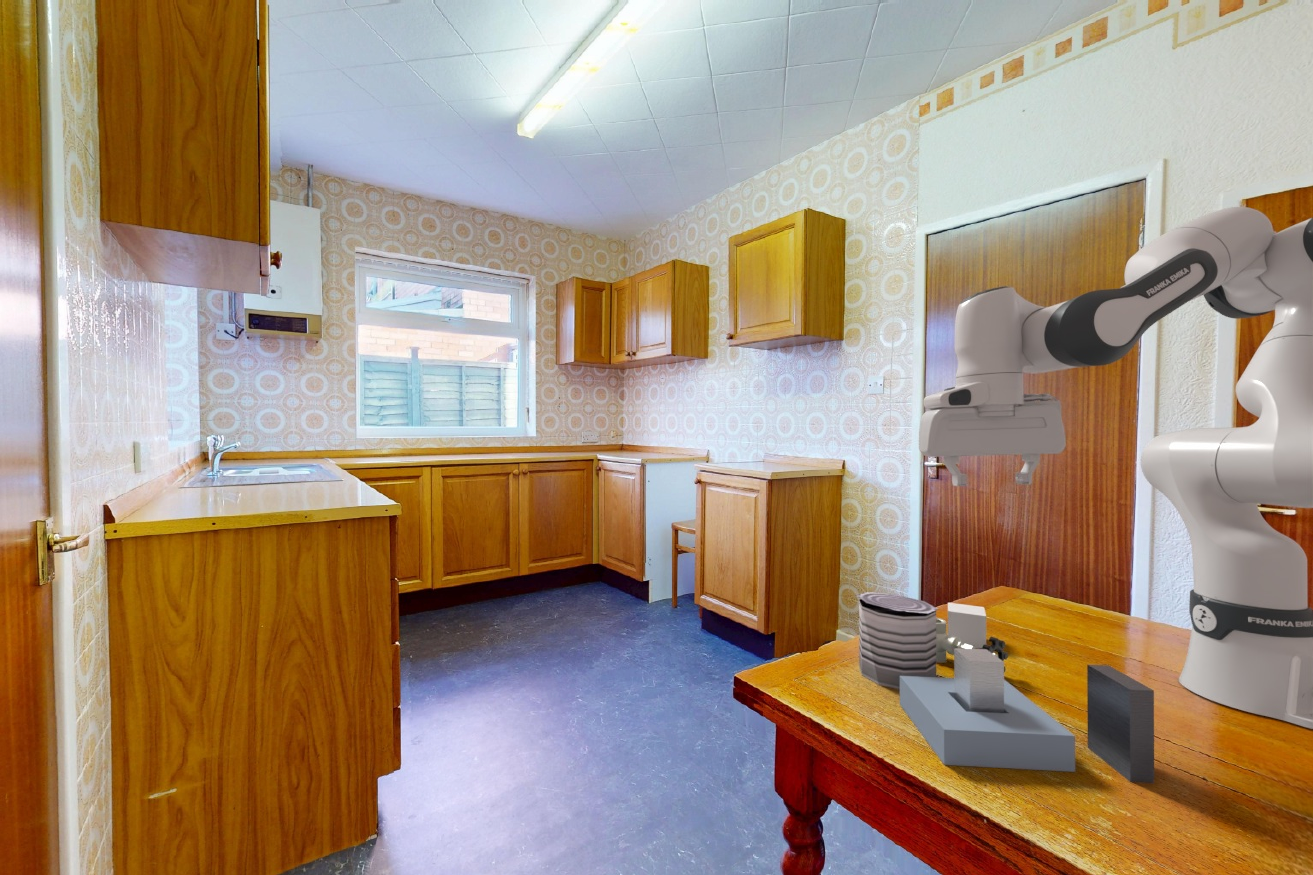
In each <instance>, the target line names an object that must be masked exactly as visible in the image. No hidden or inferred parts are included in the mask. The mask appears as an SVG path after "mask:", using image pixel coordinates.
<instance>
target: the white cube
mask: <svg viewBox="0 0 1313 875" xmlns="http://www.w3.org/2000/svg"><path fill="white" fill-rule="evenodd" d="M947 635H948V637H950V636H955V637H958V638H960V640H961V643H963V645H964V644H968V645H971V646H974V647H975V648H976V649H980V648H982V647H983V645H984V644H986V645H987V614H986V609H985V607H984V606H978V605H977V606H976V605H971V604H962V603H954V602H947Z"/></svg>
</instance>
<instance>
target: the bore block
mask: <svg viewBox="0 0 1313 875" xmlns="http://www.w3.org/2000/svg"><path fill="white" fill-rule="evenodd" d="M899 705H900V707H901V709H902V710H903V711H904V713H905V714H906V715H907V717H908V718H909V719H910V721H911V722H912V723H913V724H914V726H915V727H916V729H917V730H918V731H919V733H920V734H921V736H923V738H924V739H925V741H926V742H927V743H928V744H929V747H930V748H931V749H932V750H933V751H934V753H935V754H936V756H937V757H938V759H939V760H940V761H941V762H942V764H943V765H944V766H962V767H963V766H964V767H980V768H981V767H982V768H998V769H999V768H1000V769H1016V770H1017V769H1019V770H1034V771H1053V772H1055V771H1056V772H1070V773H1071V772H1072V773H1073V772H1074V773H1076V735H1074V734H1073V733H1072V732H1071V731H1069V729H1067V728H1066V727H1064V726H1063V725H1062V724H1060V722H1058V721H1057V720H1056V719H1054V718H1053V717H1052V716H1051V715H1050V714H1049V713H1047V712H1046V711H1045V710H1043V709H1042V708H1041V707H1039V706H1038V705H1037V704H1036V703H1035V702H1033V701H1032V700H1031V699H1029V698H1028V697H1027V696H1025V695H1024V694H1023V693H1022V692H1021V691H1019V690H1018V689H1017V688H1016V687H1014V685H1012V684H1010V683H1009V681H1007V680H1006V679H1004V713H988V712H966V711H965V710H964V709H963V708H962V707H961V706H960V704H959V703H958V702H957V701H956V700H955V699H954V677H938V676H936V677H917V676H900V690H899Z"/></svg>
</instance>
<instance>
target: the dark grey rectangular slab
mask: <svg viewBox="0 0 1313 875" xmlns="http://www.w3.org/2000/svg"><path fill="white" fill-rule="evenodd" d="M1086 666H1087V667H1086V669H1087V672H1086V674H1087V677H1086V678H1087V682H1086V683H1087V686H1086V687H1087V688H1086V690H1087V692H1086V693H1087V694H1086V695H1087V696H1086V697H1087V698H1086V699H1087V701H1086V702H1087V705H1086V706H1087V708H1086V709H1087V714H1086V715H1087V749H1089V750H1090V751H1091V752H1092V753H1094V754H1095V755H1096V756H1097V757H1099V759H1100V760H1102V761H1104V762H1105V763H1106V764H1107V765H1108V766H1110V767H1111V768H1113V770H1115V771H1116V772H1117V773H1119V774H1120V775H1121V776H1122V777H1124V778H1125V779H1126V780H1127V781H1129V782H1130V783H1146V784H1155V705H1154V704H1155V699H1154V698H1155V691H1154V689H1152V688H1150V687H1148V686H1147V685H1145V684H1143V683H1141V682H1140V681H1137V680H1136V679H1134V678H1132V677H1131V676H1128V675H1126V674H1125V673H1123V672H1122V671H1119V670H1118V669H1116V668H1114V667H1113V666H1110V665H1109V664H1108V665H1107V664H1086Z"/></svg>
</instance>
